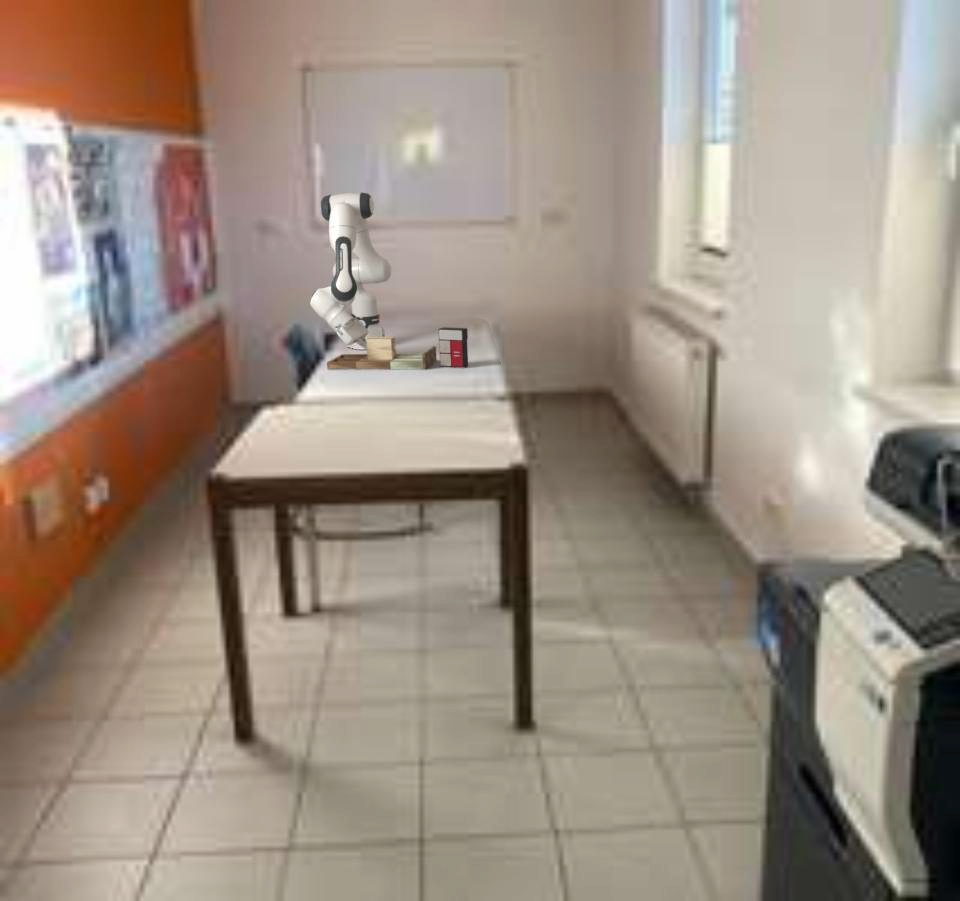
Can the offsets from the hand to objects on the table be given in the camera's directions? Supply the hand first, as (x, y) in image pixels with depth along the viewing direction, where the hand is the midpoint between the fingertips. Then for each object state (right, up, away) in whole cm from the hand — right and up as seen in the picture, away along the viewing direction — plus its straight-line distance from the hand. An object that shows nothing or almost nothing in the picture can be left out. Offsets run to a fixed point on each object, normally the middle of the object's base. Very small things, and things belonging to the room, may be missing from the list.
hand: (367, 347), depth 395 cm
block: (+6, -4, 0) cm, 7 cm away
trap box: (+6, -7, +1) cm, 9 cm away
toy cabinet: (+35, -9, -8) cm, 37 cm away
